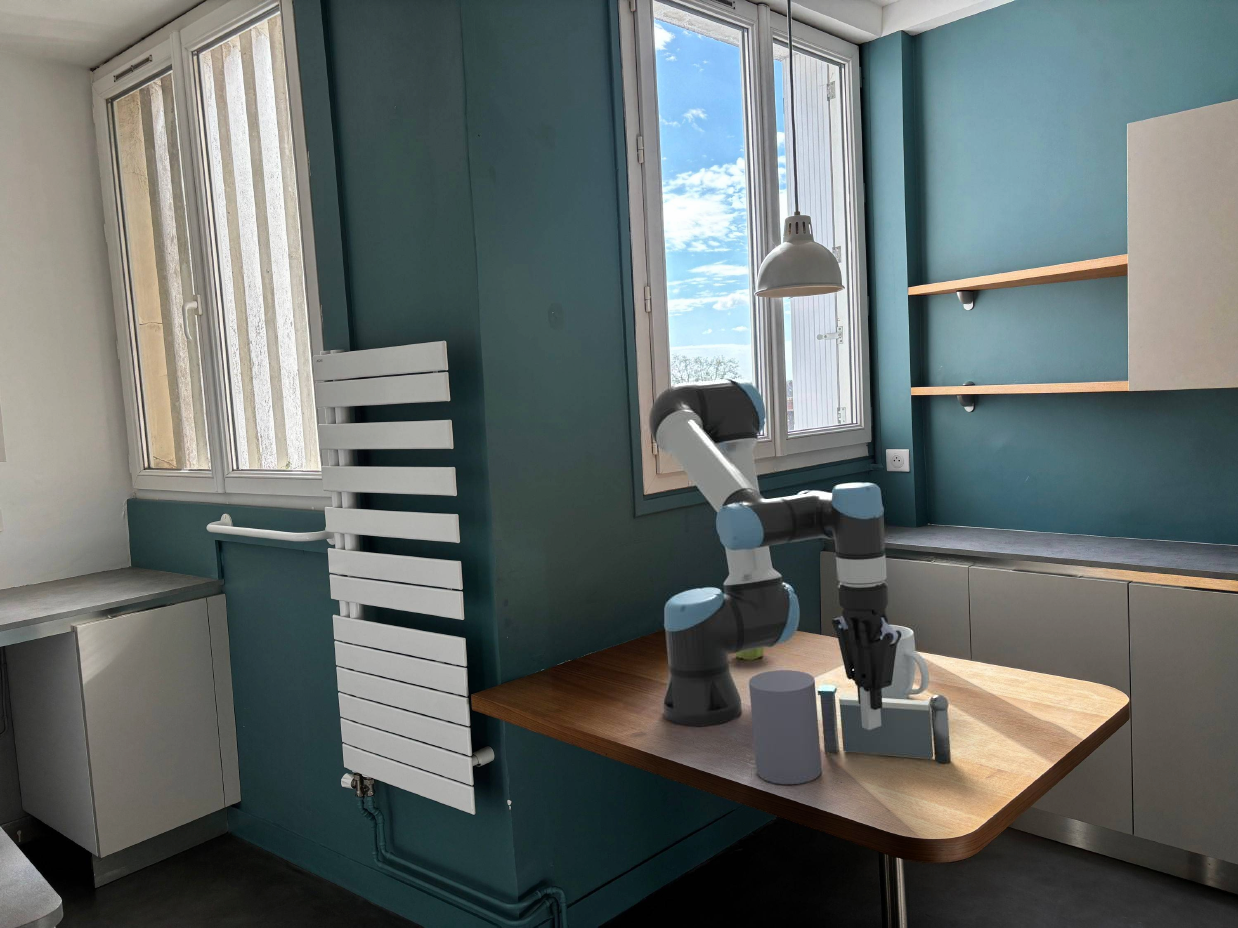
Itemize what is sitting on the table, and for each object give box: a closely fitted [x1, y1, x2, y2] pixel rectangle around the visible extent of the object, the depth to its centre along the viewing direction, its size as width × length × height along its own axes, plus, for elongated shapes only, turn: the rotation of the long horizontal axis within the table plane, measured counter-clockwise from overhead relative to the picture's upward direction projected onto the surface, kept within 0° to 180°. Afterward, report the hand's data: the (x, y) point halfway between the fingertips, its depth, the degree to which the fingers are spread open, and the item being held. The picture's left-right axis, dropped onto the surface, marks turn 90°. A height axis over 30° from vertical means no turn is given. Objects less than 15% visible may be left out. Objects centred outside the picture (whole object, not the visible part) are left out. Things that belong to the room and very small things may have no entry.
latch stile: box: [817, 684, 840, 755], centre depth 145 cm, size 3×3×11 cm
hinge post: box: [929, 694, 952, 765], centre depth 137 cm, size 3×3×11 cm
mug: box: [882, 624, 930, 700], centre depth 164 cm, size 15×11×13 cm
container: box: [748, 669, 822, 786], centre depth 138 cm, size 10×10×15 cm
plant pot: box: [735, 647, 765, 661], centre depth 201 cm, size 9×9×9 cm
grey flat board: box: [838, 695, 934, 760], centre depth 141 cm, size 14×2×9 cm, turn 64°
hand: (871, 726), depth 138 cm, fingers closed
